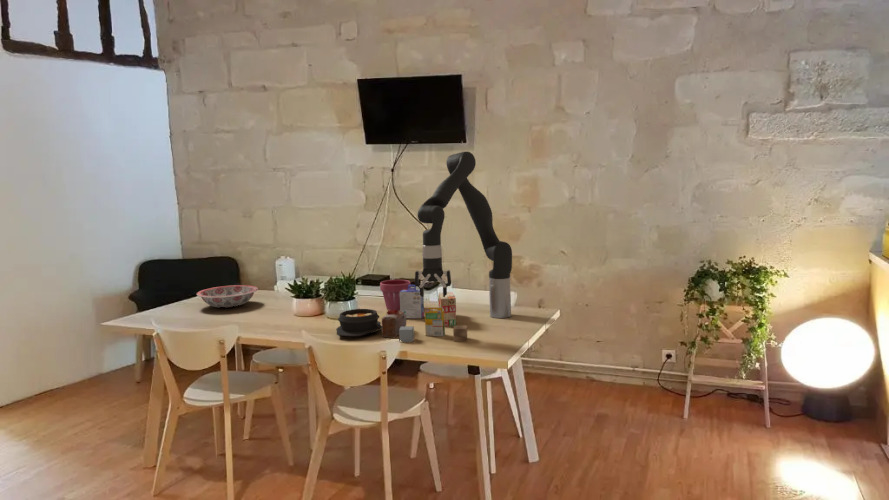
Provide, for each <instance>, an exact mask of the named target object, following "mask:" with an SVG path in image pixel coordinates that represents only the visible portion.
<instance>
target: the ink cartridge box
mask: <svg viewBox="0 0 889 500" xmlns="http://www.w3.org/2000/svg"><path fill="white" fill-rule="evenodd" d="M410 286H411V288H409V287H410ZM424 297H425V296H424ZM424 297H422V296H420V289H417V286H415V284H411V285H408V289H407V290H402V291H400V310H399V311H401V312H403V313H404V314H405V315H406V319H422V318H425V304H424V303H425V300H424Z"/></svg>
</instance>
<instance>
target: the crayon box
mask: <svg viewBox="0 0 889 500" xmlns="http://www.w3.org/2000/svg"><path fill="white" fill-rule="evenodd" d="M424 323H425V325H424V326H425V327H424V328H425V336H426V337H444V336H445V335H446V334H445V333H446V331H445V329H446V328H445V326H444V311H442V308H438V307H424Z"/></svg>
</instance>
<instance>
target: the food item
mask: <svg viewBox="0 0 889 500" xmlns="http://www.w3.org/2000/svg"><path fill="white" fill-rule="evenodd" d="M381 326H382V328H381V336H382V337H383V338H393V337H395V338H397V336H398V335H399V329H400V327H405V326H407V318H406V315H405V314H404V313H403V312H401V311H400V310H394V311H393V310H388V309H387V311H386V315H385V316H383V317H382V318H381Z"/></svg>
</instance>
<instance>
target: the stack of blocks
mask: <svg viewBox="0 0 889 500" xmlns="http://www.w3.org/2000/svg"><path fill="white" fill-rule="evenodd" d="M437 303H438V305H437V308H442V311H444V326H445V327H454V326H457V298H456V295H455V293H454V292H453V291H449V292H448V291H447V295H445V297H443V292H438V295H437Z"/></svg>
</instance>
